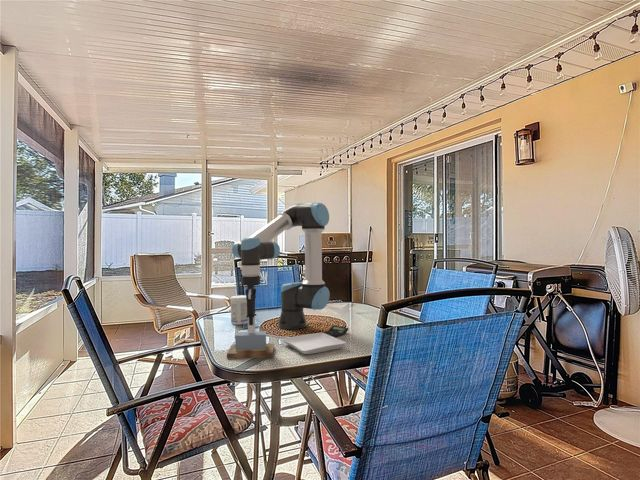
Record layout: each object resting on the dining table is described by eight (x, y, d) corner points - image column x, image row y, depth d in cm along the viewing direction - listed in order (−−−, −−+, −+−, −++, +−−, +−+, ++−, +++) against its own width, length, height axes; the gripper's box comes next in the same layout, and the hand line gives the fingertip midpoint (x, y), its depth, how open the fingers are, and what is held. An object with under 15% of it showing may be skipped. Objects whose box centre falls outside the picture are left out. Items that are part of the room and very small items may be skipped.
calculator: (318, 335, 183) (318, 329, 183) (333, 330, 192) (333, 324, 192) (333, 339, 177) (333, 332, 177) (348, 333, 186) (348, 327, 186)
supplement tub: (248, 320, 214) (248, 294, 214) (249, 324, 205) (248, 297, 205) (230, 321, 212) (230, 295, 212) (230, 325, 203) (230, 298, 203)
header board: (274, 348, 162) (274, 334, 162) (272, 357, 150) (272, 343, 150) (231, 349, 161) (231, 336, 161) (226, 358, 149) (226, 344, 149)
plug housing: (235, 350, 152) (235, 335, 152) (237, 346, 158) (237, 332, 158) (265, 349, 153) (265, 334, 153) (266, 345, 159) (266, 331, 159)
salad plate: (281, 345, 168) (281, 337, 167) (322, 338, 178) (322, 331, 178) (302, 359, 149) (302, 350, 149) (347, 350, 160) (347, 342, 160)
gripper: (243, 273, 161) (244, 328, 162) (239, 277, 148) (240, 337, 149) (261, 273, 162) (261, 328, 162) (258, 276, 149) (259, 336, 149)
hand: (251, 332), depth 156 cm, fingers closed
